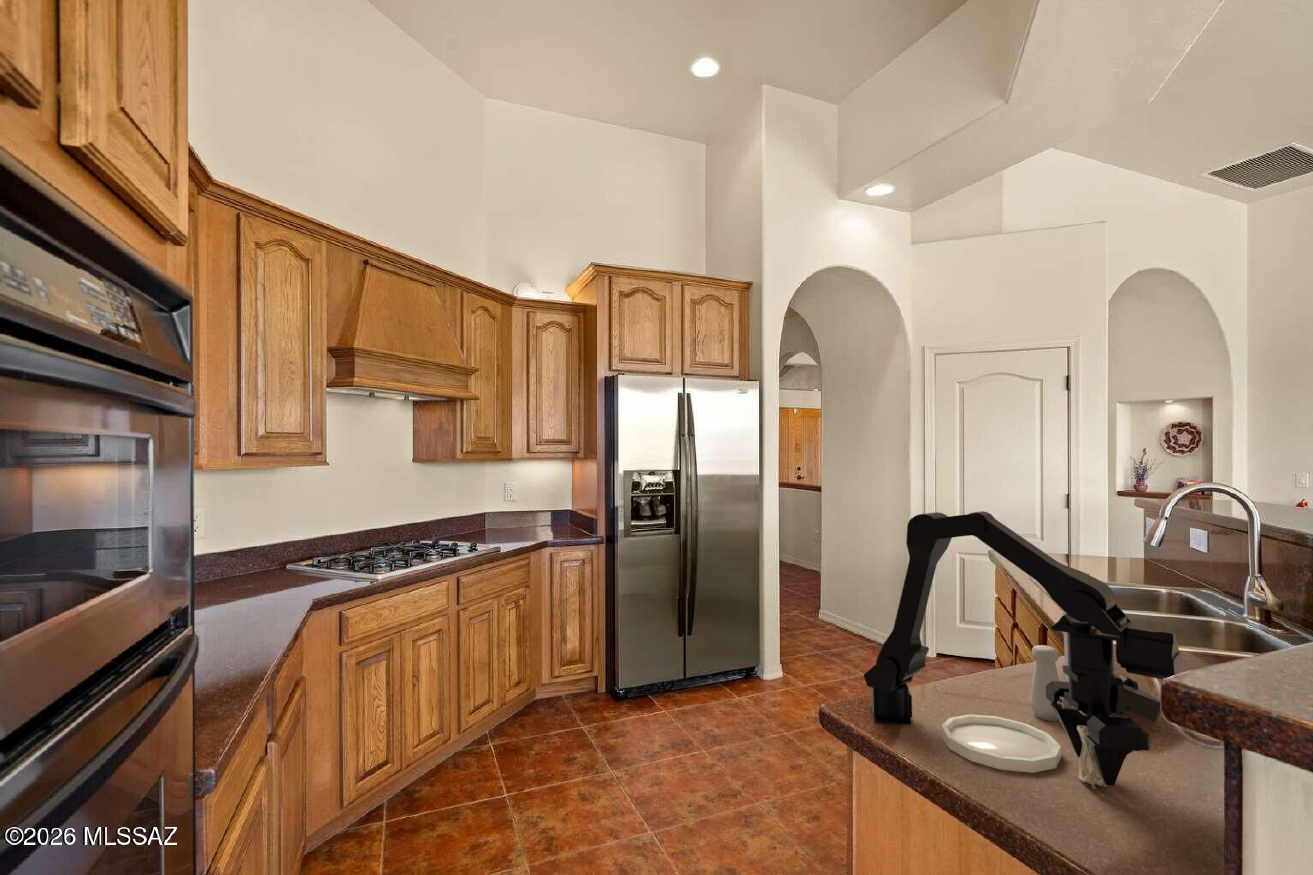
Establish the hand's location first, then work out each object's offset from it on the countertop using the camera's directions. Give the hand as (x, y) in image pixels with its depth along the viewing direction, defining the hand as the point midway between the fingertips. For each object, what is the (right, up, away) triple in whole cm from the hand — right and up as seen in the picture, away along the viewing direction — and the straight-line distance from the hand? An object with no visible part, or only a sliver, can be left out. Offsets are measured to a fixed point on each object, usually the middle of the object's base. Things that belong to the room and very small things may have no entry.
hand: (1095, 770), depth 91 cm
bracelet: (0, -2, 0) cm, 2 cm away
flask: (+23, -4, +36) cm, 43 cm away
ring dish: (-8, -2, +12) cm, 14 cm away
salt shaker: (+8, -3, +24) cm, 25 cm away
